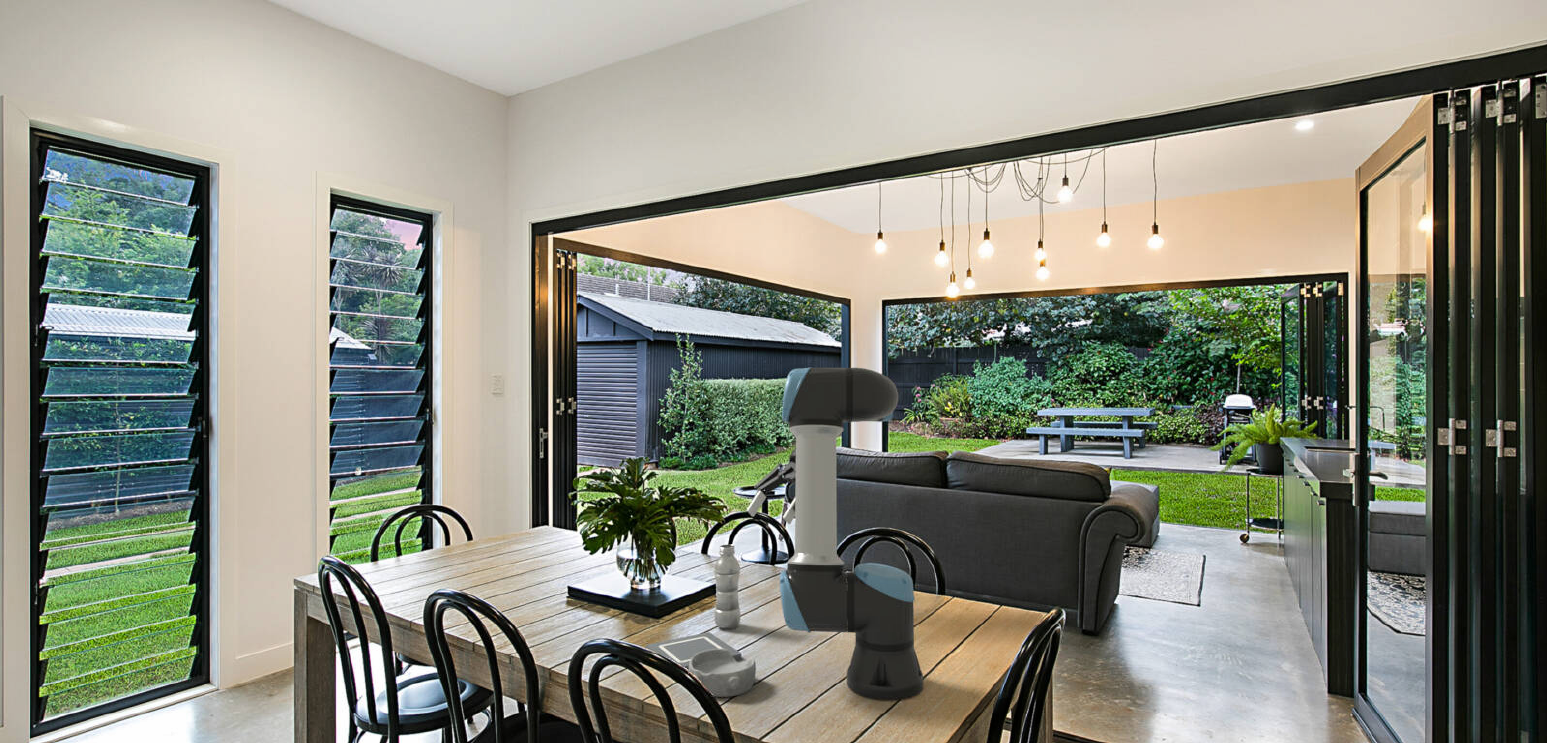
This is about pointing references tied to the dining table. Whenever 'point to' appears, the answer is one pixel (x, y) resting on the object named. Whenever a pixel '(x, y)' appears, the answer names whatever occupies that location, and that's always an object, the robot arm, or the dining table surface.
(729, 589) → the plastic bottle
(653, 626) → the dining table surface
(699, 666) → the dish
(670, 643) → the slate board
